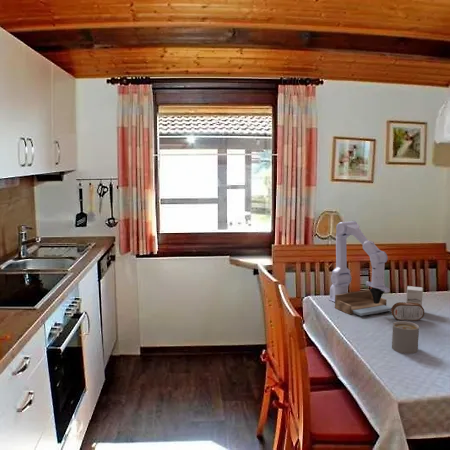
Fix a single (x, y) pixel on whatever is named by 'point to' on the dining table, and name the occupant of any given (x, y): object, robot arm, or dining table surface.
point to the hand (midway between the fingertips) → (376, 303)
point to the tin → (407, 311)
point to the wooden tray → (356, 301)
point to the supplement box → (414, 295)
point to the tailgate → (372, 310)
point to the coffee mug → (405, 337)
